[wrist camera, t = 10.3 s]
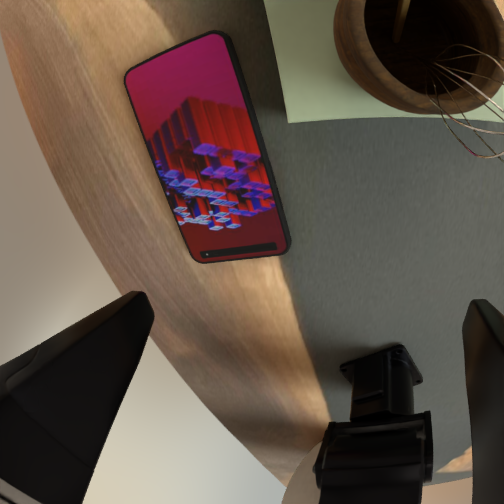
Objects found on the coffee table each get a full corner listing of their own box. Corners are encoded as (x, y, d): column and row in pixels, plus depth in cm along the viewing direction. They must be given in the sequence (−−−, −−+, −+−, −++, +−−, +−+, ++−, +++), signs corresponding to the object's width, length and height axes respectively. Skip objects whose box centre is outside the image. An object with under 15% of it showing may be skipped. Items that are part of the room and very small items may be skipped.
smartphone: (224, 25, 14) (293, 255, 21) (229, 26, 15) (295, 247, 22) (118, 73, 17) (193, 265, 24) (126, 72, 18) (198, 259, 25)
